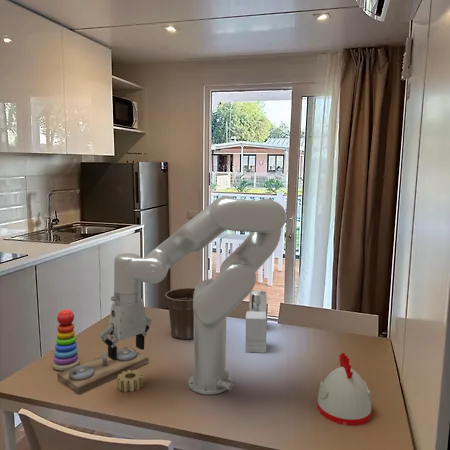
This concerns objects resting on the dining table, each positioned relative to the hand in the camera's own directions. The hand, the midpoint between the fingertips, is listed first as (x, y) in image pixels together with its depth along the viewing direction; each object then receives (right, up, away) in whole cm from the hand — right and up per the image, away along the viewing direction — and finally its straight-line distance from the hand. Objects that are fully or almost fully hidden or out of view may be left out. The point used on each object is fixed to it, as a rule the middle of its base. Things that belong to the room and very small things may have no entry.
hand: (126, 353), depth 120 cm
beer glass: (+42, -4, +45) cm, 62 cm away
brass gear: (+1, -10, +1) cm, 10 cm away
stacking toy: (-23, -8, +13) cm, 27 cm away
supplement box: (+40, -7, +27) cm, 49 cm away
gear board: (-9, -9, +10) cm, 16 cm away
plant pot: (+14, -5, +40) cm, 42 cm away
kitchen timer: (+61, -12, -10) cm, 63 cm away
